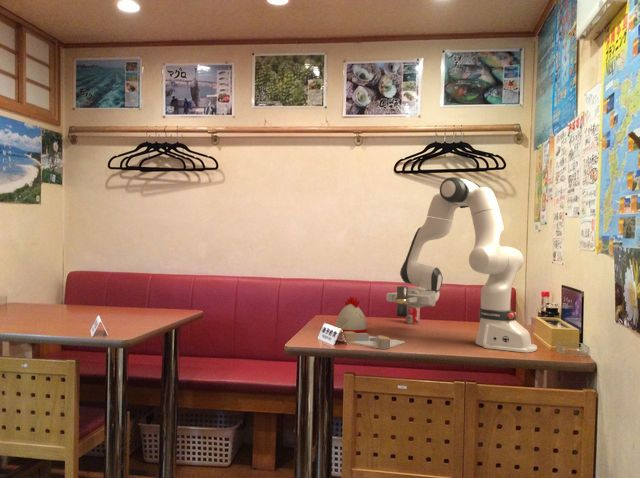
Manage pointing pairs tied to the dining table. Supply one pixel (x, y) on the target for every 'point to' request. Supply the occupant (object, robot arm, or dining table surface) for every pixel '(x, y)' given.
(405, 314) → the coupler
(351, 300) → the kitchen timer
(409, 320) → the soda can
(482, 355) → the dining table surface
